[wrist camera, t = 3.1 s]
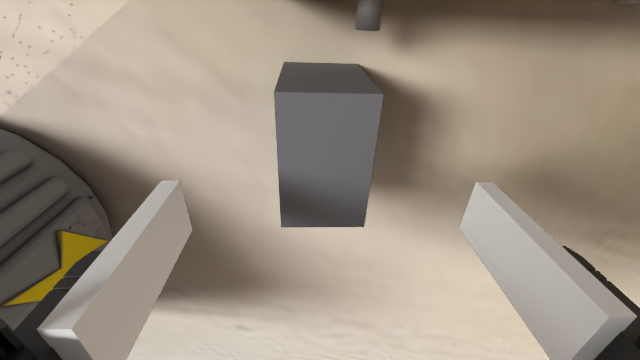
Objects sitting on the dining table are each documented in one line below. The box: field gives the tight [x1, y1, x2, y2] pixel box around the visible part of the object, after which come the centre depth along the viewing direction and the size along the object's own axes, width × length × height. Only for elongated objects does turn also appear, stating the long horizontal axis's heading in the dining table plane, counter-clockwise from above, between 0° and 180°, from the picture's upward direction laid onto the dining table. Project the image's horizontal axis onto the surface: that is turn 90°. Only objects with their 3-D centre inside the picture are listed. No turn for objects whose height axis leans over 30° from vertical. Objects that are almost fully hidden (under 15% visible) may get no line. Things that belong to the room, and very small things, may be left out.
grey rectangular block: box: [274, 62, 384, 227], centre depth 18 cm, size 5×8×8 cm, turn 178°
